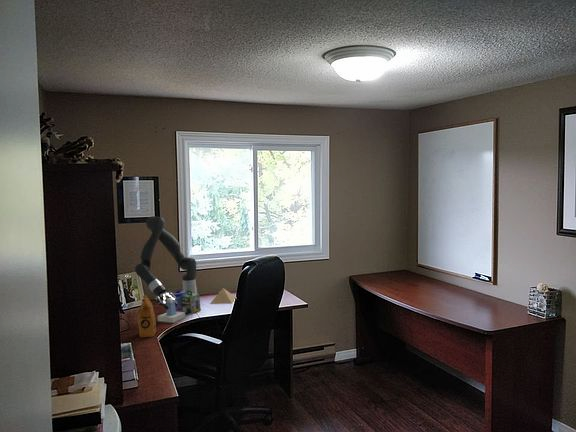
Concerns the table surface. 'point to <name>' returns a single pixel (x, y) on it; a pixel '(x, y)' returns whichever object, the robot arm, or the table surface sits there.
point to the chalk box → (190, 303)
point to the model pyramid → (223, 298)
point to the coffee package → (146, 319)
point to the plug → (171, 307)
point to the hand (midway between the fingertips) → (172, 307)
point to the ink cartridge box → (178, 299)
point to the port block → (171, 317)
